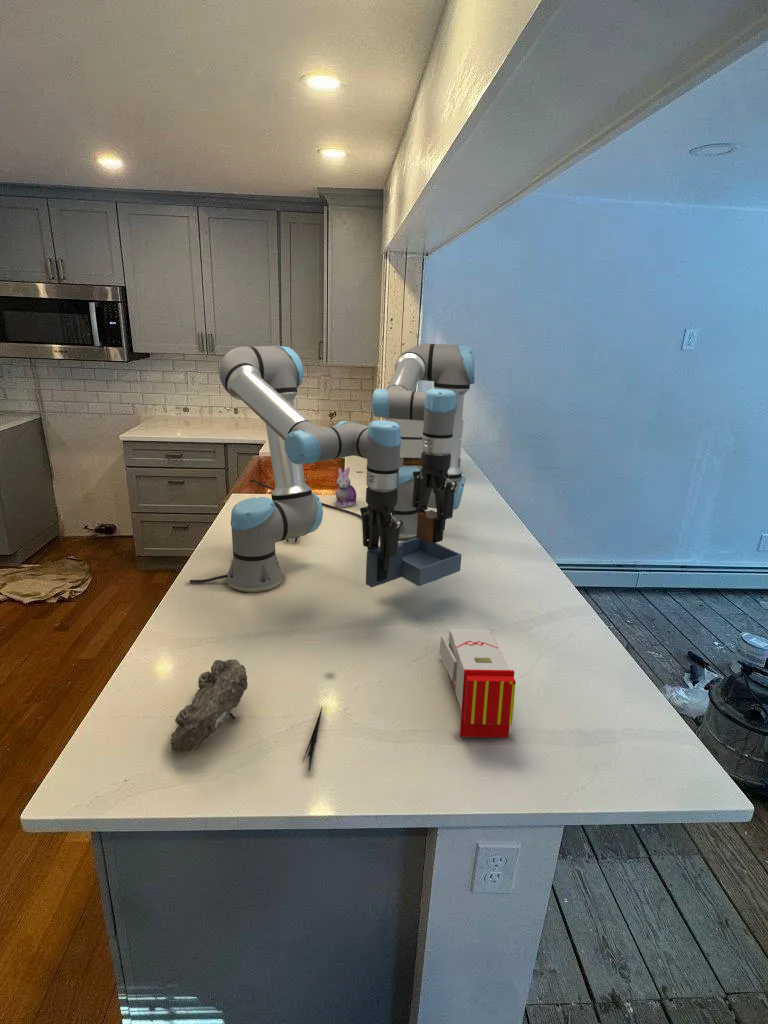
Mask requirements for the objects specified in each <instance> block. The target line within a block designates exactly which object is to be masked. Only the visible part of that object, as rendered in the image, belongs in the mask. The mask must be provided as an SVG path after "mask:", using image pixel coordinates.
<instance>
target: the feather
mask: <svg viewBox="0 0 768 1024" xmlns="http://www.w3.org/2000/svg"><path fill="white" fill-rule="evenodd" d="M329 675H330V676H331V675H332V674H331V673H330V674H329ZM322 710H323V707H321V708H320V710H319V713H318V716H317V719H316V723H315V725H314V728H313V731H312V733H311V737H310V739H309V742H308V745H307V748H306V751H305V754H304V757H303V760H302V763H301V767H302V765H303V763H304V761H305V758H308V759H309V760H308V762H307V763H308V764H307V766H308V771H310V770H311V766H312V765H311V764H312V760H313V757H315V756H314V755H315V751H316V749H315V746H317V739H318V733H319V729H320V722H321V717H322V712H323V711H322ZM313 754H314V755H313ZM306 755H307V757H306Z"/></svg>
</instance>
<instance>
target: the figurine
mask: <svg viewBox="0 0 768 1024" xmlns="http://www.w3.org/2000/svg"><path fill="white" fill-rule="evenodd" d="M350 470H351V469H350V466H347V467H346V468H345V470H344V471H343V469H342V467H338V469H337V471H338V472H337V473H338V477H337V479H336V486H337V489H336V492H335V498H336V500H335V505H336V507H338V508H346V507H352V506H354V505H355V504H356V502H357V491H356V489H355V487H354V486H353V485H352V484H351V479H350V477H349V474H350Z"/></svg>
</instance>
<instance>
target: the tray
mask: <svg viewBox="0 0 768 1024" xmlns="http://www.w3.org/2000/svg"><path fill="white" fill-rule="evenodd" d="M379 555H380V546H379V548H376V549H372V550H369V551H368V550H366V561H365V562H366V566H365V568H366V569H365V585H366V586H368V587H370V588H375V587H378V586H381V585H383V584H386V583H389V582H392V581H394V580H397V579H401V578H402V579H404V580H407V581H408V582H410V583H411V584H414V585H416V586H417V587H421V586H424V585H427V584H429V583H432V582H434V581H437V580H440V579H442V578H445V577H448V576H450V575H451V576H452V575H454V574H457V573H459V572H460V571H461V567H462V554H461V553H459V552H457V551H455V550H453V549H450V548H448V547H446V546H445V545H441V544H440V543H438V542H437V543H431V544H428V543H426V542H424V541H422V540H420V539H417V538H414V539H411V540H404V541H401V542H398V546H397V553H396V556H393V557H390V559H389V569H388V574H387V579H385V580H383V581H380V582H378V581H377V570H378V556H379Z"/></svg>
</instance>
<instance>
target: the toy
mask: <svg viewBox="0 0 768 1024" xmlns="http://www.w3.org/2000/svg"><path fill="white" fill-rule="evenodd" d="M438 654H439V656H440V658H441V660H442V662H443V665H444V666H445V668H446V671H447V673H448V675H449V677H450V681H451V683H452V685H453V689H454V690H455V695H456V698H457V702H458V705H459V708H460V726H459V737H460V738H509V737H510V728H511V727H510V726H512V725H513V717H514V706H515V705H514V704H515V693H516V684H517V683H516V679H515V670H514V669H510V667H509V666H508V663H507V662H506V660H505V658H504V655H503V654H502V652H501V650H500V648H499V644H498V642H497V638H496V635H495V634H492V632H491V631H490V629H467V628H466V629H465V628H463V629H461V628H460V629H459V628H450V629H449V631H448V641H447V639H446V638H445V636H444V634H443V635H442V634H441V635H440V641H439V651H438Z"/></svg>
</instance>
